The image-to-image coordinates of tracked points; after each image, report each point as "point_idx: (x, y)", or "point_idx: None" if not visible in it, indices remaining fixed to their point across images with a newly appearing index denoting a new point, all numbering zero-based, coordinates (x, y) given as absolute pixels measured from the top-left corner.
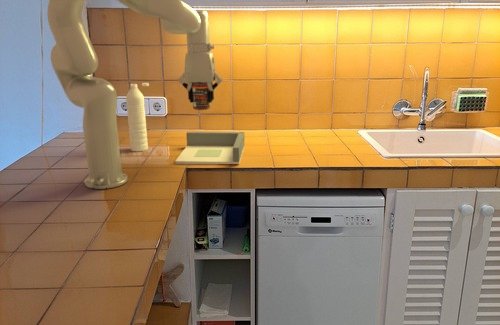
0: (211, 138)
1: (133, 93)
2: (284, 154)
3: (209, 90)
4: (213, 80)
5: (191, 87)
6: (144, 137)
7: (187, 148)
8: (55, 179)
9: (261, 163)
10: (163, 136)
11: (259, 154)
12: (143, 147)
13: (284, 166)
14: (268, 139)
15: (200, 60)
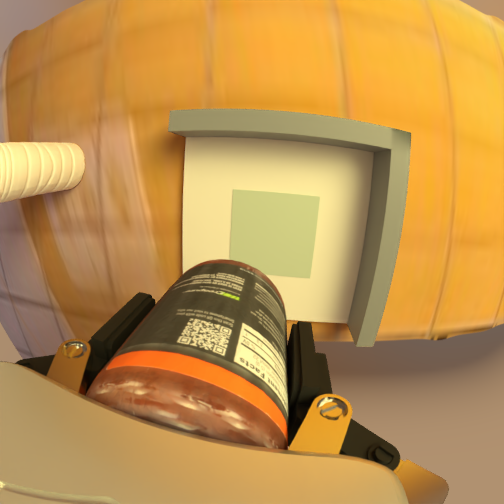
0: (276, 136)
1: None
2: (475, 233)
3: (289, 435)
4: (363, 467)
5: (85, 372)
6: (58, 178)
7: (192, 173)
8: (42, 348)
9: (413, 308)
10: (110, 29)
11: (424, 227)
12: (74, 181)
13: (448, 327)
14: (445, 68)
15: None
